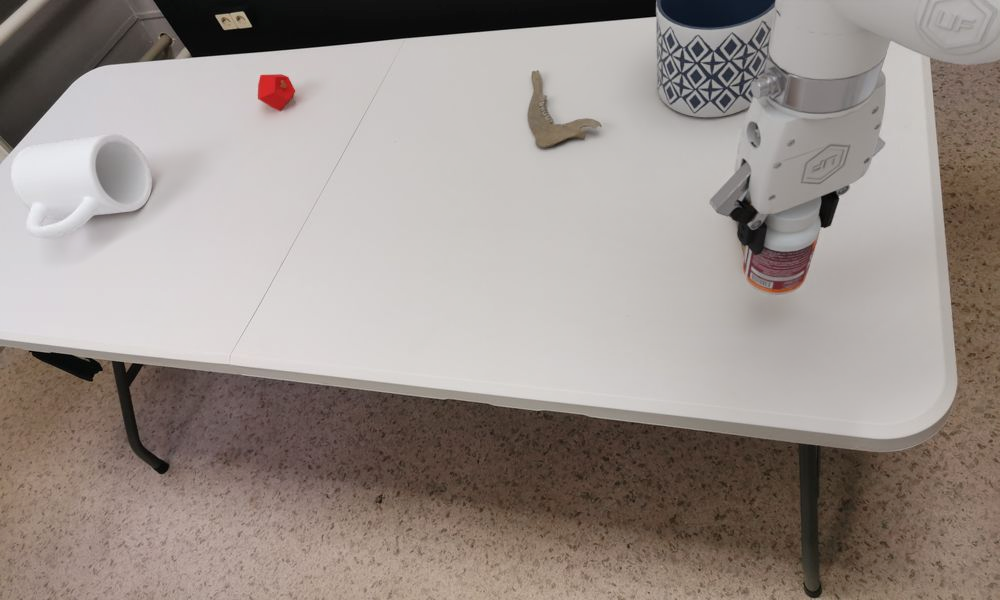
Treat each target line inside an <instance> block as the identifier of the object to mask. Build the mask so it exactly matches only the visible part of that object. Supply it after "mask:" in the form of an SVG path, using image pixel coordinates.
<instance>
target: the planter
mask: <svg viewBox="0 0 1000 600" xmlns="http://www.w3.org/2000/svg"><path fill="white" fill-rule="evenodd" d="M655 1H656V2H655V15H656V16H655V21H656V22H655V25H656V27H655V30H656V32H655V33H656V81H657V83H656V84H657V92H658V95H659V97H660V99H661V100H662V102H663V103H664V104H665V105H666V106H667V107H669V108H670V109H672V110H673V111H676V112H678V113H679V114H683V115H686V116H690V117H696V118H718V117H725V116H730V115H734V114H736V113H739V112H742V111H744V110H746V109H749V108H750V105H751V102H752V100H753V97H754V96H753V94H752V92H751V82H752V81H754V80H757V79H759V78H760V77H761V76H762V75H763V74H764V71H765V64H766V58H767V54H768V47H769V41H770V34H771V27H772V21H773V14H774V7H775V1H776V0H655Z"/></svg>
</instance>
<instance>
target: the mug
mask: <svg viewBox="0 0 1000 600" xmlns="http://www.w3.org/2000/svg"><path fill="white" fill-rule="evenodd" d="M10 179H11V184H12V187H13V190H14V192H15V194H16V196H17V198H18V199H19V201H20V202H21V203H22V205H23V206H25V208H26V209H28V210H29V212H28V214H27V217H26V221H25V227H26V230H27V232H28V233H29V235H31V236H32V237H34V238H37V239H42V240H43V239H44V240H45V239H47V240H48V239H49V240H50V239H55V238H59V237H62V236H65V235H68V234H70V233H72V232H74V231H76V230H77V229H79V228H80V227H83V225H84V224H85V223H87V222H88V221H90V220H91V218H92V217H94V216H101V215H111V214H121V213H127V212H128V213H129V212H135V211H137V210H139V209H141V208H142V207H143V206H144V205H146V203H147V202H148V200H149V198H150V196H151V193H152V189H153V188H152V187H153V176H152V170H151V167H150V165H149V162H148V160H147V158H146V156H145V155H144V153H143V152H142V150H141V149H140V148H139V146H138V145H136V144H135V142H133V141H132V140H130V139H129V138H127V137H125V136H123V135H120V134H116V133H107V134H99V135H93V136H87V137H86V136H85V137H79V138H73V139H64V140H58V141H51V142H44V143H38V144H37V143H36V144H31V145H28V146H26V147H23V148H22V149H21V150H20V151H19V152H18V153H17V154H16V155H15V157H14V159H13V161H12V164H11V168H10ZM46 219H48V220H60V221H57V222H55V223H51V224H47V225H43V224H44V223H45V220H46Z"/></svg>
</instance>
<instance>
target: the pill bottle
mask: <svg viewBox="0 0 1000 600" xmlns="http://www.w3.org/2000/svg"><path fill="white" fill-rule="evenodd" d="M820 206H821V197H818V198H815V199H813V200H810V201H808V202H805V203H803V204H800V205H797V206H795V207H792V208H790V209H787V210H784V211H781V212H778V213H774V214H768V215H767V217H766V219H765V220H764V223H765V224H766V225H767V232H766V237H765V242H764V247H763V251H762V253H761V254H758V255H754V254H753V252H752V251H751V250H750V249H749V247H748V246H747V245H746V250H745V256H744V255H743V264H742V274H743V277H744V279H745V280H746V282H747V283H748V285H749V286H750V287H751V288H753V289H754V290H756V291H758V292H759V293H762V294H765V295H771V296H783V295H788V294H791V293H793V292H795V291H797V290H798V289H800V288H801V286H802V285H803V284H804V283H805V281H806V279H807V276H808V273H809V269H810V267H811V263H812V260H813V256H814V253H815V250H816V246H817V243H818V240H819V236H820V232H821V228H822V227H821V220H820V217H819V210H820Z"/></svg>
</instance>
